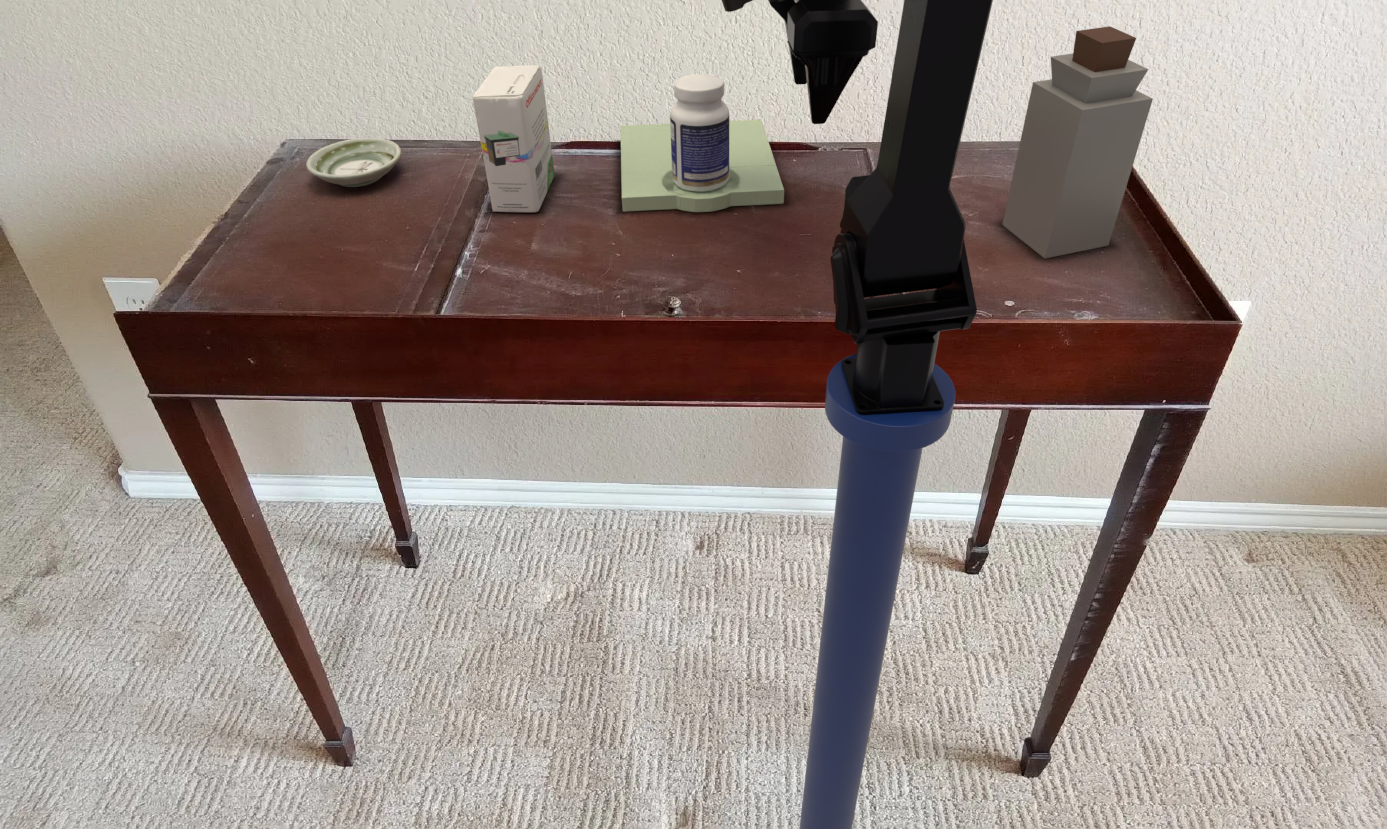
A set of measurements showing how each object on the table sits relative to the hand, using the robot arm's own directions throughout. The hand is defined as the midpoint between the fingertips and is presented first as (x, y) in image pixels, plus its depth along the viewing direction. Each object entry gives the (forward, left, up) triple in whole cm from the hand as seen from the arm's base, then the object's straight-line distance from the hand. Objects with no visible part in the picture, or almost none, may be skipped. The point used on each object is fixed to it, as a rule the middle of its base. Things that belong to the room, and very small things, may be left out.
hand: (809, 102), depth 80 cm
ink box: (+10, +27, -12) cm, 31 cm away
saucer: (+16, +45, -12) cm, 49 cm away
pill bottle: (+8, +9, -11) cm, 16 cm away
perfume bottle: (-4, -23, -12) cm, 26 cm away
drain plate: (+14, +9, -12) cm, 21 cm away
